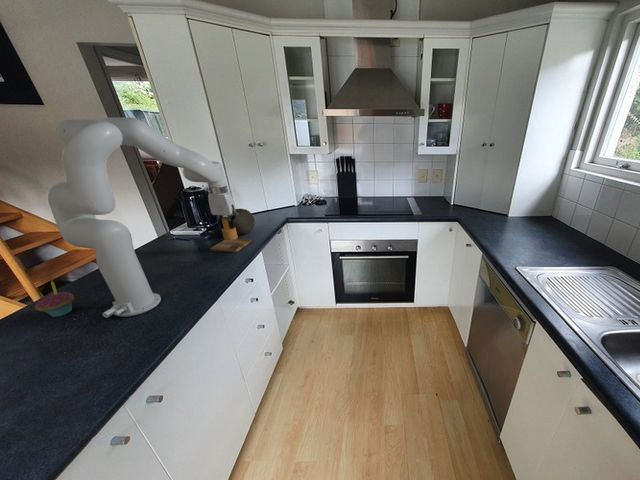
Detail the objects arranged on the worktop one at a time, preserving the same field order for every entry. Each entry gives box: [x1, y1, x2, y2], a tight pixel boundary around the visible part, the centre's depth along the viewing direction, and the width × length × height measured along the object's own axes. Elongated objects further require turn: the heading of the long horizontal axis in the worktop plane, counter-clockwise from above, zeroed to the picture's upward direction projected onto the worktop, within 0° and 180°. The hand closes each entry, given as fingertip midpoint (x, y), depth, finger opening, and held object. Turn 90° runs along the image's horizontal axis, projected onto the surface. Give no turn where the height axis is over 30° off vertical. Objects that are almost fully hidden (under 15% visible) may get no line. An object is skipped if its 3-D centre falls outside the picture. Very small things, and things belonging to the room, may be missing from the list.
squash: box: [221, 216, 239, 240], centre depth 133 cm, size 6×6×11 cm
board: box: [209, 238, 252, 253], centre depth 142 cm, size 14×14×1 cm
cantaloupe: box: [226, 208, 256, 236], centre depth 153 cm, size 14×14×15 cm
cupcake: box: [34, 279, 75, 318], centre depth 89 cm, size 9×8×12 cm
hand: (228, 227), depth 133 cm, fingers closed on squash, 4 cm apart
